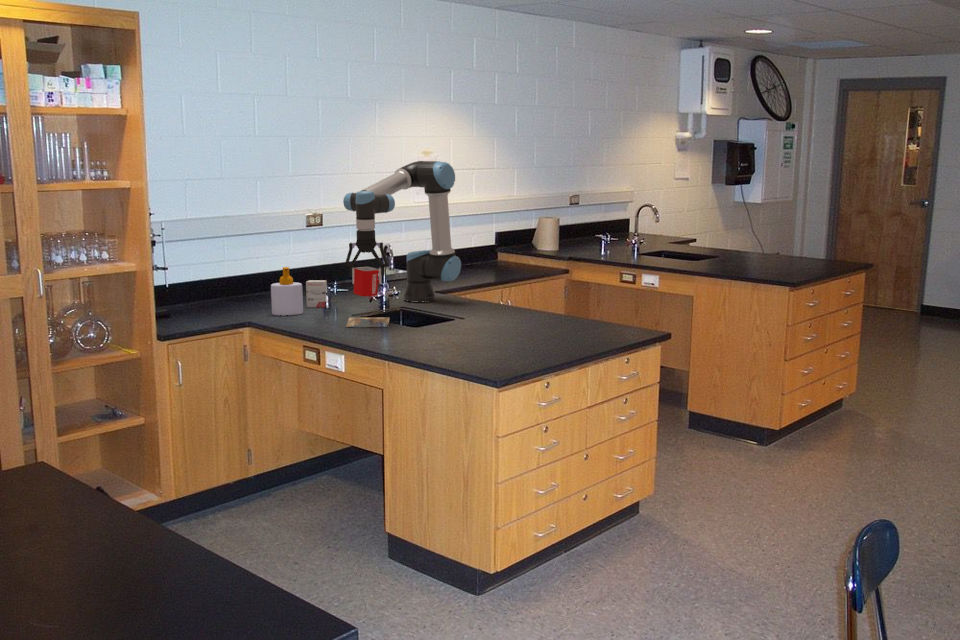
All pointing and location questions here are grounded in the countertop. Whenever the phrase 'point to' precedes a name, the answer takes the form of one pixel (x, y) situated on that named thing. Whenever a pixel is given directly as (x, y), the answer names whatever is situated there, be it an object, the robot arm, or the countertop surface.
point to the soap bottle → (286, 296)
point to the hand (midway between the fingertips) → (367, 283)
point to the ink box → (316, 293)
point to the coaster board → (377, 319)
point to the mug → (366, 281)
